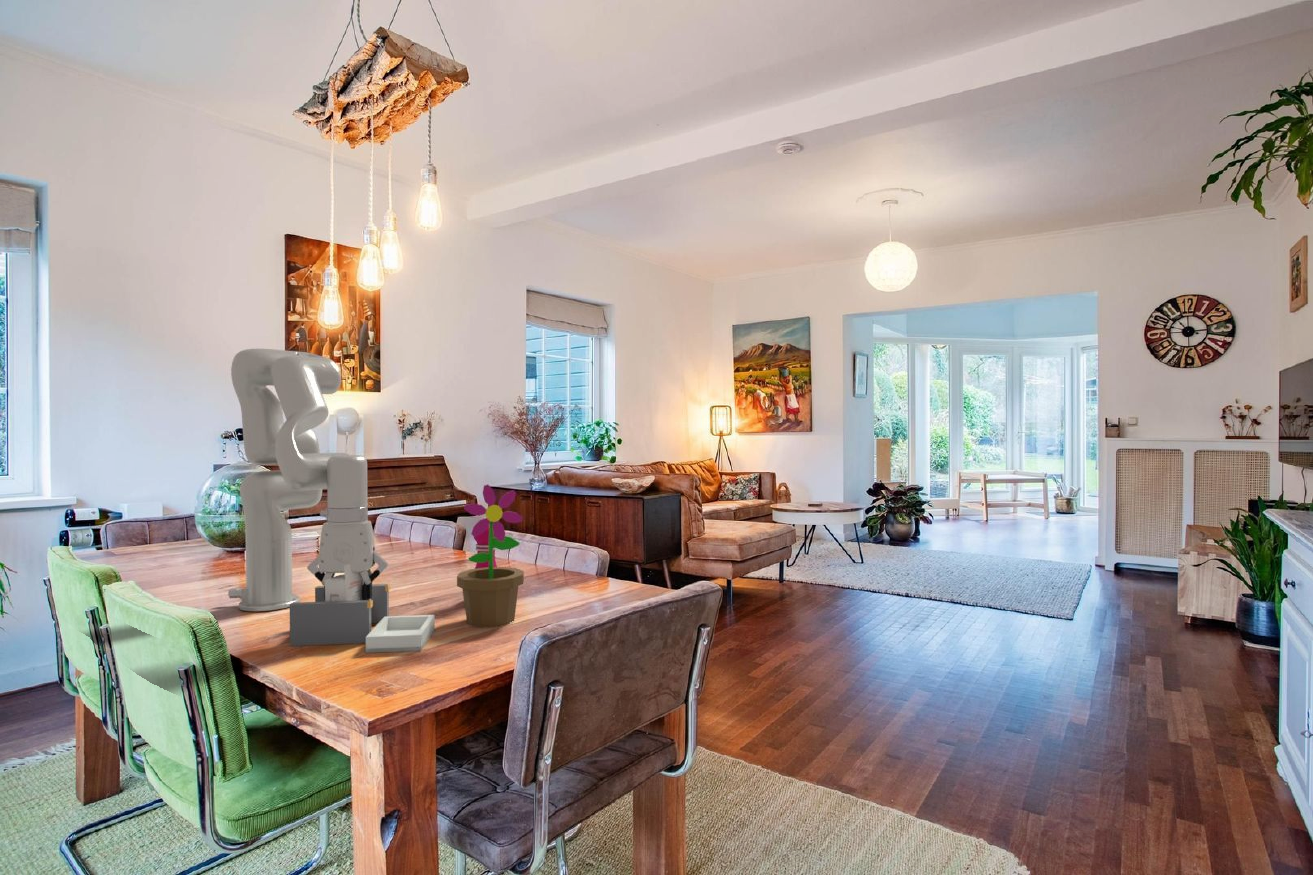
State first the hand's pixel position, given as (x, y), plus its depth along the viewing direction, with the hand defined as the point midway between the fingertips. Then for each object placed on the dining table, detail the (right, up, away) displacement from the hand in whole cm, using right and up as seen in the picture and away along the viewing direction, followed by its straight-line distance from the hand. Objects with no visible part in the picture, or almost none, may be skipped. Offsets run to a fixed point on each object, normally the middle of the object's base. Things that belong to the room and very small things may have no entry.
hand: (348, 602), depth 144 cm
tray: (+13, -6, -5) cm, 15 cm away
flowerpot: (+27, -6, +9) cm, 29 cm away
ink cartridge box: (0, -6, 0) cm, 6 cm away
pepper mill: (+22, -6, +27) cm, 35 cm away
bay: (-1, -6, 0) cm, 6 cm away
